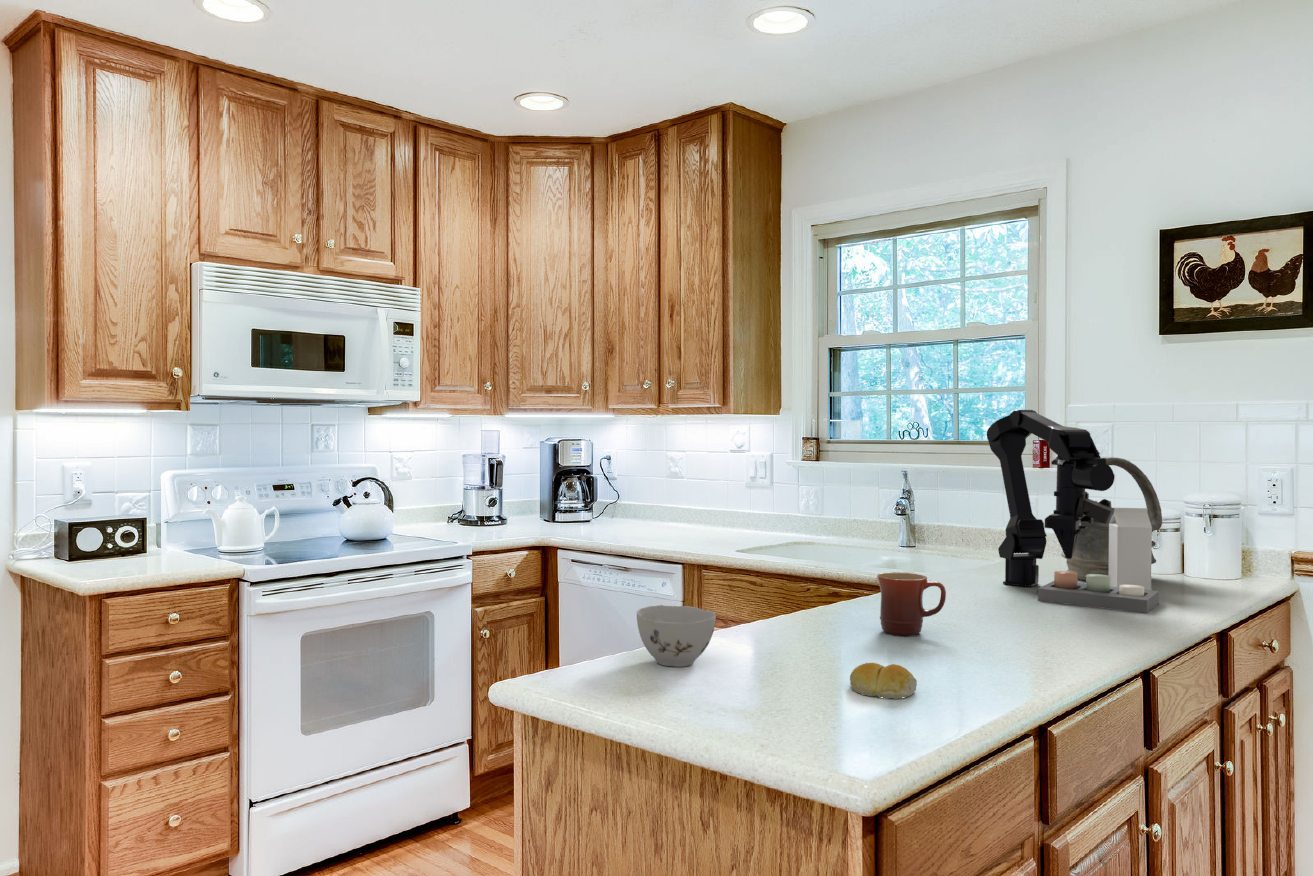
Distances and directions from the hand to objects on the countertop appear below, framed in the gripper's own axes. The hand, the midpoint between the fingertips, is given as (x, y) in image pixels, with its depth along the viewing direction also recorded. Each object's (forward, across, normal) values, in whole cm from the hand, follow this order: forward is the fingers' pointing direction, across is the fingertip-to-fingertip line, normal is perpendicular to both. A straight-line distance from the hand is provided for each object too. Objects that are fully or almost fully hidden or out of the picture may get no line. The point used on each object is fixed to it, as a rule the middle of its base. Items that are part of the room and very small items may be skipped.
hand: (1069, 558), depth 201 cm
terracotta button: (+6, 0, 0) cm, 6 cm away
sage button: (+6, 0, -6) cm, 9 cm away
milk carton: (+9, +18, -9) cm, 22 cm away
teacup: (+8, -96, +36) cm, 103 cm away
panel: (+9, 0, -6) cm, 11 cm away
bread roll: (+8, -91, +4) cm, 92 cm away
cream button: (+8, -1, -13) cm, 15 cm away
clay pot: (+9, +36, -1) cm, 37 cm away
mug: (+8, -54, +14) cm, 57 cm away
